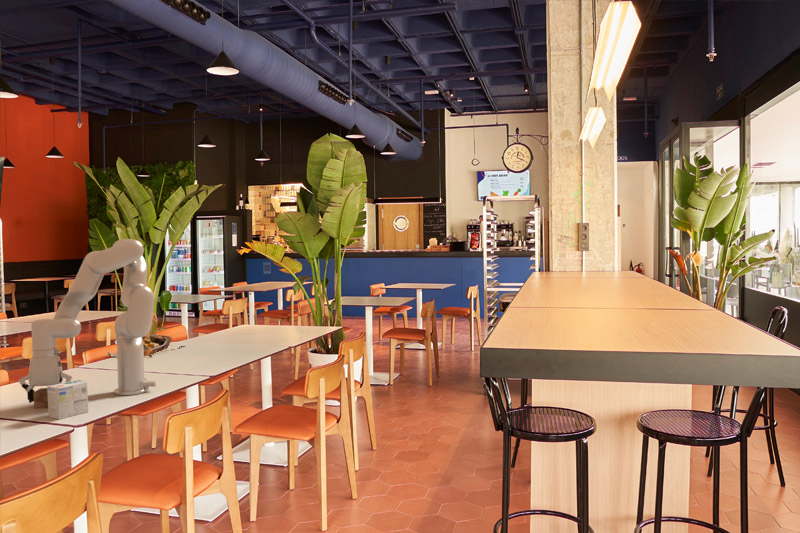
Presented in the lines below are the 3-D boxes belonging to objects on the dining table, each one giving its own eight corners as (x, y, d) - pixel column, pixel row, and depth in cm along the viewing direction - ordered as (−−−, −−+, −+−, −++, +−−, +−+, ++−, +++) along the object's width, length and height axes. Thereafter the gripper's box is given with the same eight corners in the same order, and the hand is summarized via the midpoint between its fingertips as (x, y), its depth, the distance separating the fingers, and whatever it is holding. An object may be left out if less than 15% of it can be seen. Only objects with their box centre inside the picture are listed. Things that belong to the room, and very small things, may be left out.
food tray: (145, 346, 351) (145, 328, 351) (186, 347, 347) (185, 328, 347) (106, 357, 317) (105, 337, 317) (151, 358, 313) (150, 338, 312)
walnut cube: (58, 403, 222) (58, 387, 222) (52, 408, 216) (51, 391, 216) (40, 404, 221) (40, 388, 221) (34, 409, 215) (33, 392, 215)
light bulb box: (78, 409, 214) (76, 379, 213) (89, 412, 210) (88, 381, 210) (47, 417, 204) (46, 385, 204) (58, 420, 201) (57, 387, 201)
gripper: (74, 350, 223) (75, 397, 224) (22, 353, 220) (24, 399, 221) (66, 354, 216) (68, 402, 217) (13, 356, 213) (15, 405, 214)
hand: (46, 400), depth 219 cm, fingers open, 9 cm apart
